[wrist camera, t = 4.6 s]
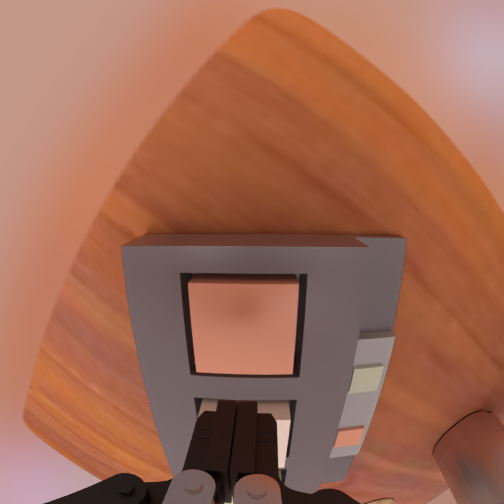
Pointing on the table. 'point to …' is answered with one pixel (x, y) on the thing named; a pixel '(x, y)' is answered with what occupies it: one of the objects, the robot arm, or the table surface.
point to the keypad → (306, 343)
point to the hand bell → (382, 501)
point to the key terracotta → (244, 322)
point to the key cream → (266, 406)
